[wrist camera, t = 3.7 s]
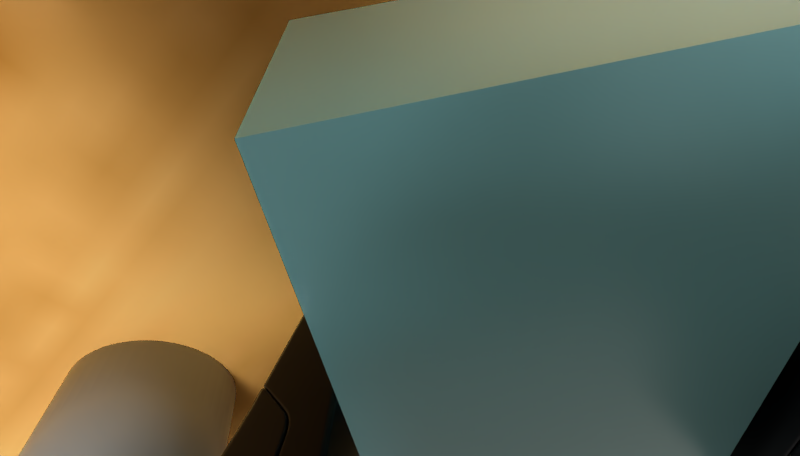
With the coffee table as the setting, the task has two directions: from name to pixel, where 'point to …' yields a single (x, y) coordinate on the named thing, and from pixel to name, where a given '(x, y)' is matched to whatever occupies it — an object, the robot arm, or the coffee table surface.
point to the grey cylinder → (138, 404)
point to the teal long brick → (539, 218)
